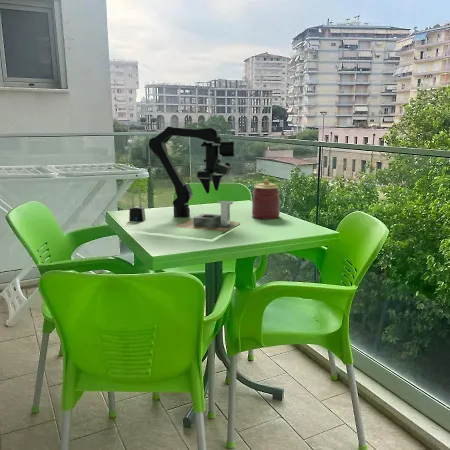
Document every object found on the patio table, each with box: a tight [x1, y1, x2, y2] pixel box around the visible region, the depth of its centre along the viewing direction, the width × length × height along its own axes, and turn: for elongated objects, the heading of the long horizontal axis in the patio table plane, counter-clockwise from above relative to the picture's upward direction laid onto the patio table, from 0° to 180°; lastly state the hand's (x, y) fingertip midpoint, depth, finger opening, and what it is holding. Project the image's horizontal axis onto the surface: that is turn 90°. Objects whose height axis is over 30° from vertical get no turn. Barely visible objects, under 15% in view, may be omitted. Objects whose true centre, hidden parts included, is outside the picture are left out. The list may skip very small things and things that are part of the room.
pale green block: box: [217, 200, 234, 226], centre depth 171 cm, size 6×3×10 cm, turn 66°
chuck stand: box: [172, 213, 241, 235], centre depth 175 cm, size 23×18×4 cm
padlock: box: [128, 187, 147, 222], centre depth 187 cm, size 7×4×15 cm, turn 86°
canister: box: [251, 179, 281, 220], centre depth 193 cm, size 13×13×18 cm
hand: (212, 191), depth 188 cm, fingers open, 9 cm apart
